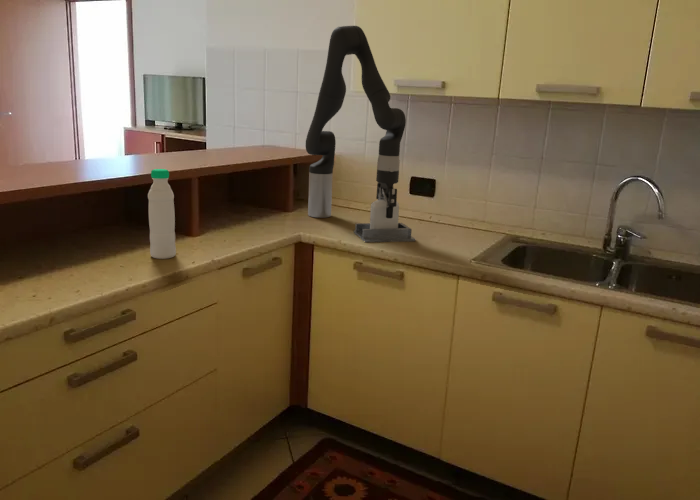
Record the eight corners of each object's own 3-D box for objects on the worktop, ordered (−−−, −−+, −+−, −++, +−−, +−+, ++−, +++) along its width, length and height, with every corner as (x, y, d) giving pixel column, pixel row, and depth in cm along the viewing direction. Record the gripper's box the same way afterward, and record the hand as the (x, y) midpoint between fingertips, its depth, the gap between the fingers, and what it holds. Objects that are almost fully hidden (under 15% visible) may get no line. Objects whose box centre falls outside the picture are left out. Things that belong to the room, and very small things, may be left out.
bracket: (353, 232, 208) (354, 222, 207) (400, 231, 213) (401, 221, 212) (364, 242, 195) (365, 231, 194) (415, 241, 200) (415, 230, 199)
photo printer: (372, 236, 200) (374, 200, 197) (367, 233, 204) (369, 198, 201) (399, 235, 204) (401, 200, 201) (393, 232, 208) (396, 198, 205)
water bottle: (153, 260, 164) (149, 171, 157) (148, 253, 170) (144, 168, 163) (178, 258, 167) (175, 170, 161) (173, 251, 173) (170, 167, 167)
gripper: (371, 165, 203) (368, 211, 207) (384, 171, 190) (381, 220, 194) (391, 166, 205) (388, 211, 209) (405, 171, 192) (402, 219, 196)
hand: (385, 215), depth 202 cm, fingers open, 8 cm apart
